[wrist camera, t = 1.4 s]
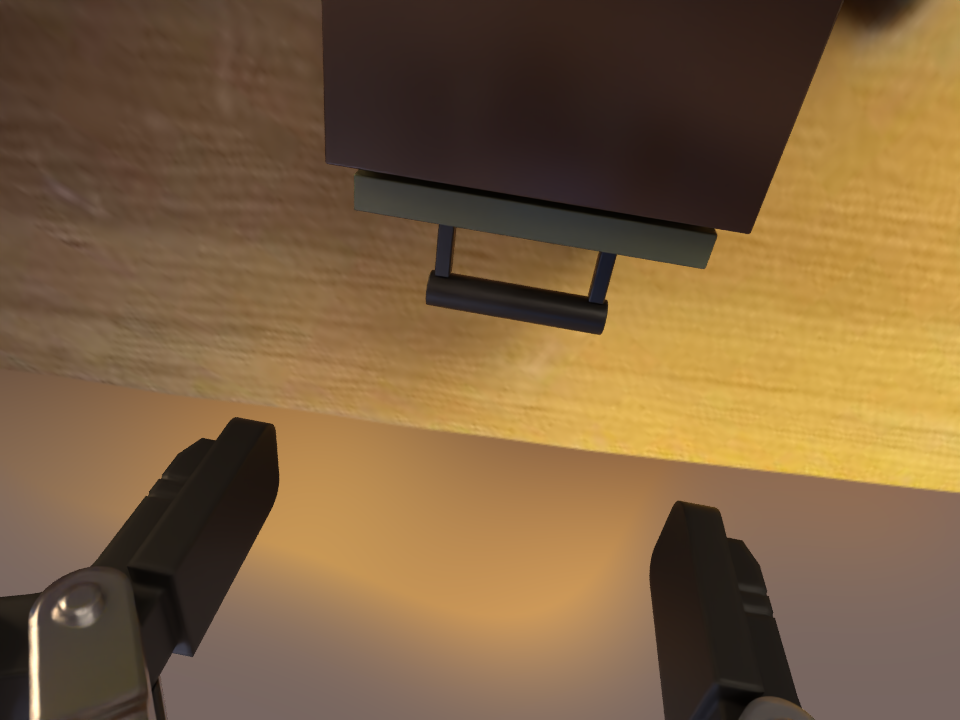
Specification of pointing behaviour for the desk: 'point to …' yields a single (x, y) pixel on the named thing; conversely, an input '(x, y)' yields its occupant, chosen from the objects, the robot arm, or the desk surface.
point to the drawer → (532, 223)
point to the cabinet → (576, 97)
